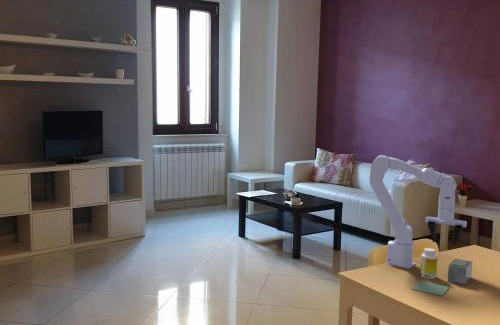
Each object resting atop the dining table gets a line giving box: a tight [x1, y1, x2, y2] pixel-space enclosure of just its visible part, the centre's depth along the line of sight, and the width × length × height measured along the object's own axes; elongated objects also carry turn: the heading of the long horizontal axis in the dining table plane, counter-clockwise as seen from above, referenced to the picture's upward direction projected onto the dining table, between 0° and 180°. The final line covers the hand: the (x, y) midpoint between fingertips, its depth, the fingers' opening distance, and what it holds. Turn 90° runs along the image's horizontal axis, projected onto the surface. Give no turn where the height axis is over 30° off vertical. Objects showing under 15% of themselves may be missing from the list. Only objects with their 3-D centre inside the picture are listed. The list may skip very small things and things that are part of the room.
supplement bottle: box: [419, 247, 438, 280], centre depth 184 cm, size 6×6×10 cm
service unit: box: [447, 258, 473, 286], centre depth 182 cm, size 6×10×6 cm, turn 146°
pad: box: [411, 280, 450, 297], centre depth 172 cm, size 10×10×1 cm
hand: (444, 243), depth 192 cm, fingers open, 7 cm apart
